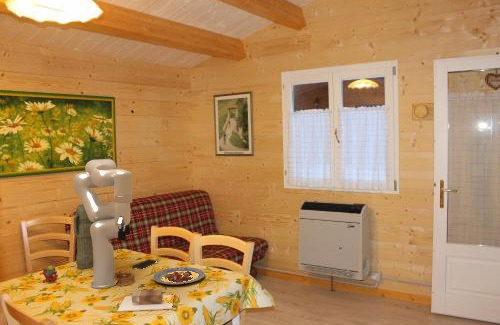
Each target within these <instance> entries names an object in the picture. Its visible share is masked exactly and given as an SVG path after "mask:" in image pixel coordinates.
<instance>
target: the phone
mask: <svg viewBox="0 0 500 325" xmlns="http://www.w3.org/2000/svg"><path fill="white" fill-rule="evenodd" d="M156 261H157V262H158V263H159V260H157V259H150V258H149V259H145V260H143V261H141V262H138V263H136V264H134V265H131V268H132V269H135V268H137V269H136V270H144V269H143V268H145V269H146V267H147V268H148V266H149V267H151V266H153V265H155V264H154V263H155V262H156ZM152 264H153V265H152ZM150 265H151V266H150Z"/></svg>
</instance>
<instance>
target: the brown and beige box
mask: <svg viewBox="0 0 500 325" xmlns="http://www.w3.org/2000/svg"><path fill="white" fill-rule="evenodd" d="M163 295H164V294H163V289H152V290H151V289H150V290H134V291H133V293H132V294H131V296H132V305H152V304H161V302H162V299H163Z"/></svg>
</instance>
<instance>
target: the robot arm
mask: <svg viewBox="0 0 500 325" xmlns="http://www.w3.org/2000/svg"><path fill="white" fill-rule="evenodd" d="M84 170H85V171H84V172H80V173H77V174H76V175H74V177H73V179H72V180H73V182H72V183H73V184H72V185H73V188H74V192H75V193H76V195H77V197H78V198H79V199H80V201H81V203H82V205H84V208H85V210H86V213H87V216H88V218H89V220H90V221H91V222H93V224H92V225H91V227H90V233H91V238H92V252H93V265H94V266H93V281H91V283H90V287H91V288H93V289H108V288H112V287H114V286H116V285H117V284H116V282H114V278H115V252H114V246H113V245H112V243H110V241H109V240H112V239H117V241H119V242H120V241H126V238H127V236H128V235H130V234H131V225H130V222H131V204H133V173H132V172H131V171H129V170H126V169H122V168H120V169H119V168H118V169H117V164H116V162H115V161H114V160H113V159H111V158H107V159H106V158H104V159H103V158H99V159H92V160H89V161H88V162H87V163H86V164H85V166H84ZM108 187H113V188H114V189H113V190H114V194H113V196H114V201H108V202H107V201H105V202H103V201H102V200H101V197H100V196H99V194H98V193H97V192H95V191H94V190H92V189H98V188H108Z"/></svg>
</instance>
